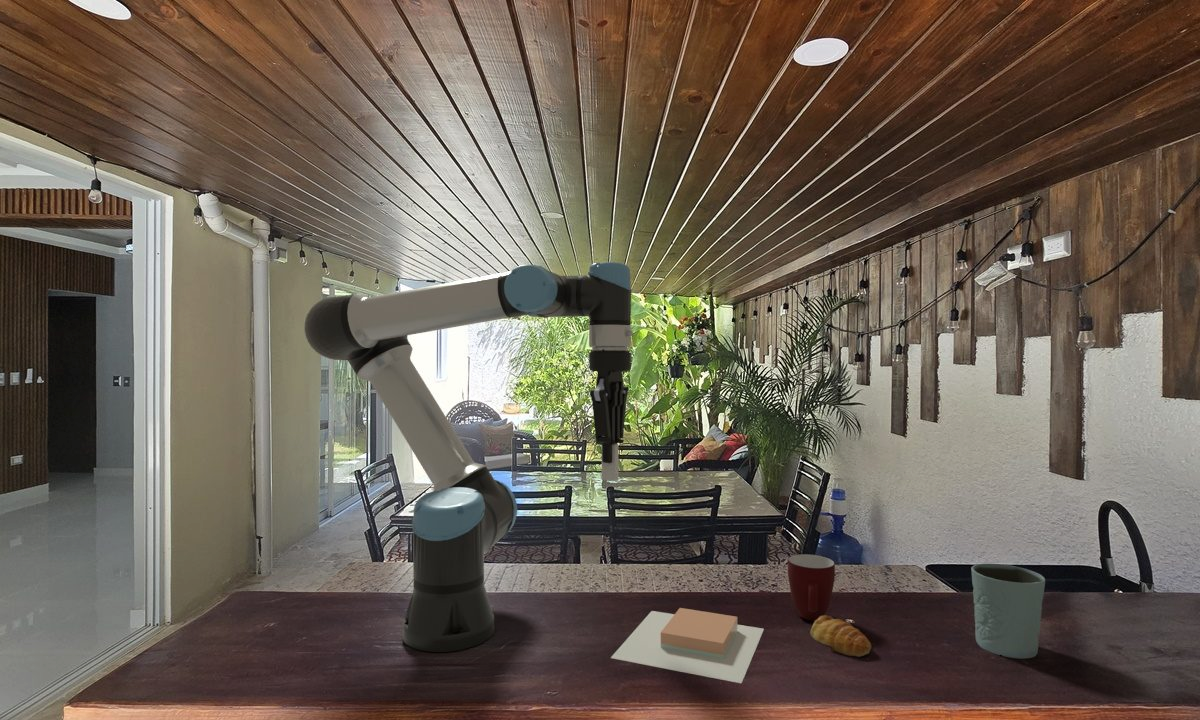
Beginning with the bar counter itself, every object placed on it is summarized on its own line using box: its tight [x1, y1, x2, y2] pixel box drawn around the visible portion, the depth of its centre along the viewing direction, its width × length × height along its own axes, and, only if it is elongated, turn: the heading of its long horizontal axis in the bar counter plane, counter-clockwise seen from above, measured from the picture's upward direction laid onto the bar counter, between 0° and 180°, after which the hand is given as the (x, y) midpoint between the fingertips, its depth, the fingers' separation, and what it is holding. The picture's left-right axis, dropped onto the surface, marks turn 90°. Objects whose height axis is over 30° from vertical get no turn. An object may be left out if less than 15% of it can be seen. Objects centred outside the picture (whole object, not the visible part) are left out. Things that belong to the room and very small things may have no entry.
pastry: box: [810, 614, 872, 658], centre depth 107 cm, size 9×7×4 cm
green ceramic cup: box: [971, 563, 1046, 660], centre depth 107 cm, size 10×10×12 cm
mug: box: [787, 553, 836, 622], centre depth 118 cm, size 11×8×10 cm
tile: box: [661, 607, 738, 659], centre depth 108 cm, size 10×2×11 cm
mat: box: [610, 610, 765, 685], centre depth 107 cm, size 20×20×1 cm
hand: (609, 479), depth 120 cm, fingers closed
